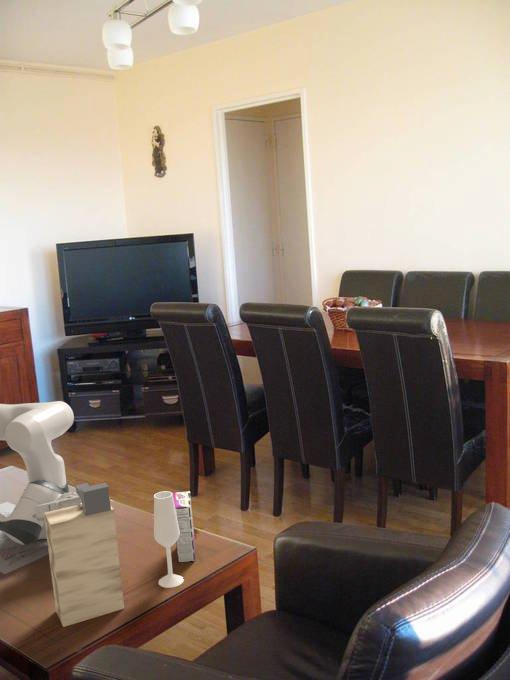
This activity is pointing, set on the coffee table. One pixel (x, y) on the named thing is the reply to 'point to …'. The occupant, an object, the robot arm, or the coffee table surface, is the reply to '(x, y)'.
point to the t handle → (94, 498)
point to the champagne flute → (166, 533)
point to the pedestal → (83, 563)
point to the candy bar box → (184, 527)
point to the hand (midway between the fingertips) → (76, 500)
